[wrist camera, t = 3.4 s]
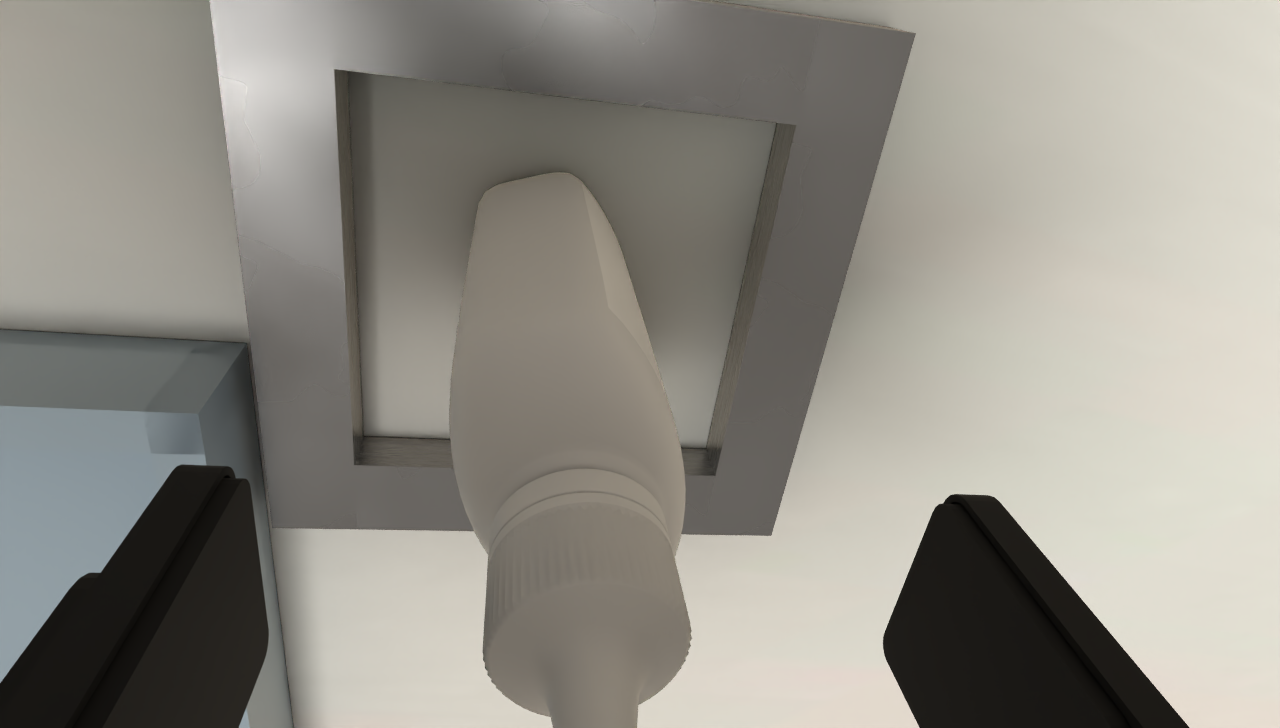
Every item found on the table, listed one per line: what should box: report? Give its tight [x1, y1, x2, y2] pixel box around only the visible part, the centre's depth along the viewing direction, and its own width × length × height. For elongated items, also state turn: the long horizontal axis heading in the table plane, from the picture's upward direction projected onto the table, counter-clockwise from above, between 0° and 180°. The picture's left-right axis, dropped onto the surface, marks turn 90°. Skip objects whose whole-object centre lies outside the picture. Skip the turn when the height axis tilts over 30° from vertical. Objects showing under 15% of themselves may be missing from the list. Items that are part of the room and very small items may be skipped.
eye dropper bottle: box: [449, 172, 692, 728], centre depth 13 cm, size 4×6×12 cm
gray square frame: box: [209, 0, 916, 536], centre depth 17 cm, size 13×13×1 cm
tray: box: [0, 329, 293, 728], centre depth 19 cm, size 16×12×3 cm
